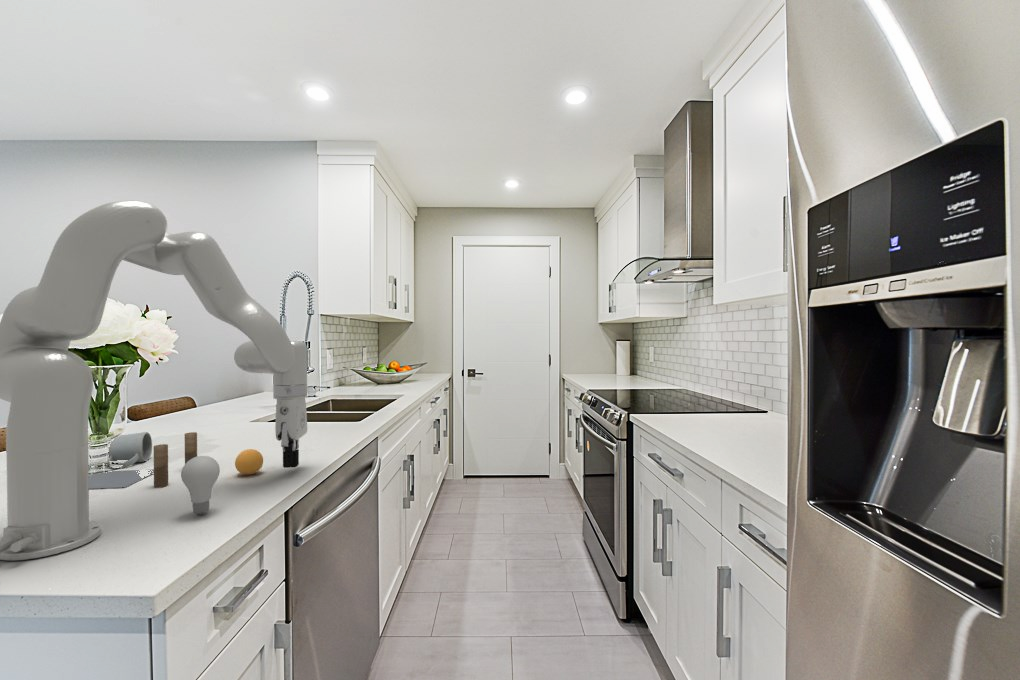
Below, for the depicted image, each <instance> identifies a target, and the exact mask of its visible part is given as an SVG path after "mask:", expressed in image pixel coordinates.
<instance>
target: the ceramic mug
mask: <svg viewBox="0 0 1020 680" xmlns="http://www.w3.org/2000/svg"><path fill="white" fill-rule="evenodd" d="M118 436H119V435H118ZM152 452H153V440H152V436H151V434H150V433H149V432H147V431H143V432H137V433H135V432H134V433H129V434H121V435H120V436H119V437H117V438H115V439H114V440H113V441H112V442H111V444H110V447H109V461H117V460H128V461H126V462H124V463H120V464H116V463H115V464H116V465H123V466H124V467H126V468H128V467H130V466H132V465H134V464H135V463H145V462H144V461H146V462H148V461H149V460H150V459H151V456H152ZM148 459H149V460H148ZM147 460H148V461H147Z"/></svg>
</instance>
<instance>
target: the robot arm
mask: <svg viewBox="0 0 1020 680" xmlns="http://www.w3.org/2000/svg"><path fill="white" fill-rule="evenodd" d="M166 218H167V217H166V216H165V214H164V213H163V212H162V210H161V209H160V208H158V207H156V206H155V205H153V204H151V203H148V202H146V201H140V200H118V201H113V202H108V203H105V204H101V205H99V206H95V207H94V208H92V209H89V210H88V211H86V212H84V213H82V214H80V215H79V216H78V217H76V218H75V219H74V220H72V221H71V222H70V223H69V224H68V225H67V226H66V227H65V228H64V230H63V231H62V232H61V233H60V235H59V237H57V239H56V242H55V244H54V246H53V249H52V250H51V252H50V256H49V258H48V261H47V263H46V264H45V267H44V270H43V274H42V276H41V279H40V281H39V283H38V285H37V286H33V287H29V288H26V289H24V290H22V291H20V292H19V293H18V294H16V295H15V296H14V297H13V298H12V299H11V300H9V303H8V304H7V306H6V307H5V309H4V311H3V314H2V316H1V319H0V400H3V401H6V402H8V403H10V406H9V411H8V417H7V424H6V433H5V435H6V436H5V449H6V450H5V453H6V454H5V455H6V501H7V503H6V505H7V507H6V508H7V526H6V527H4V528H3V529H2V531H3V533H2V534H3V535H2V536H1V537H0V560H1V561H25V560H32V559H38V558H43V557H48V556H53V555H56V554H61V553H65V552H67V551H70V550H74V549H77V548H79V547H82V546H84V545H86V544H88V543H90V542H92V541H95V539H97V538H98V537H99V536H100V535H102V534H101V533H102V525H101V524H100V523H98V522H96V521H90V494H89V493H90V489H89V473H90V471H89V468H90V467H89V435H88V434H89V415H90V413H89V412H90V406H91V405H90V404H91V400H92V393H93V389H94V388H93V387H94V377H93V373H92V369H91V368H90V366H89V364H88V363H87V361H86V360H84V359H83V358H82V357H81V356H79V355H78V354H77V353H74V352H72V351H70V350H69V347H70V344H71V342H72V341H78V340H82V339H86V338H88V337H90V336H92V335H93V334H94V333H95V332H96V331H97V330H98V328H99V327H100V324H101V321H102V319H103V315H104V311H105V308H106V304H107V300H108V296H109V294H110V293H109V292H110V289H111V286H112V282H113V280H114V277H115V274H116V271H117V269H118V267H119V265H120V264H121V263H122V261H125V262H128V263H130V264H134V265H135V266H136V265H137V266H139V267H142V268H146V269H149V270H152V271H155V272H158V273H159V272H160V273H162V274H166V275H170V276H184V278H185V280H186V281H187V282H188V284H189V286H190V287H191V288H192V290H193V292H194V294H195V295H196V297H197V298H198V299H199V301H200V303H201V304H202V306H203V308H204V309H205V310H206V311H207V313H208V314H210V315H212V316H213V317H215V318H216V319H218V320H219V321H222V322H224V323H225V324H228V325H231V326H233V327H234V328H236V329H238V330H239V331H240V332H241V333H243V334H244V335H245V336H246V337H247V338H248V339H249V341H245V342H243V343H241V344H240V345H239V346H237V347H236V349H235V351H234V354H233V359H234V363H235V364H236V366H237V367H238V368H239V369H240V370H242V371H244V372H247V373H251V374H269V375H271V374H272V375H273V376H272V383H273V386H272V391H273V394H272V396H273V399H274V400H276V406H275V428H274V429H275V439H276V440H277V441H279V442H281V443H280V447H282V467H283V468H284V469H285V468H286V469H287V468H289V469H291V468H297V467H298V466H299V464H300V461H299V458H300V455H299V454H300V450H299V447H300V439H301V438H302V437H304V436H305V435H306V434H307V432H308V414H307V412H308V411H307V401H306V398H307V397H308V349H307V348H308V347H307V344H306V342H304V341H302V340H290V338H289V336H288V334H287V333H286V331H285V329H284V327H283V326H282V324H280V322H279V320H277V319H276V317H275V316H274V315H272V313H270V312H269V311H268V310H267V309H266V308H265V307H263V306H262V305H261V304H260V303H259V302H258V301H257V300H256V299H254V298H253V297H252V296H250V295H249V293H248V292H247V291H246V289H245V287H244V286H243V284H242V283H241V281H240V278H238V275H237V274H236V272H235V270H234V269H233V267H232V265H231V264H230V262H229V261H228V259H227V256H226V255H225V254H224V251H223V250H222V249H221V247H220V246H219V244H218V243H217V241H216V240H215V239H214V238H213V236H211V235H210V234H208V233H205V232H201V231H183V232H179V233H170V232H167V231H168V220H167V219H166Z"/></svg>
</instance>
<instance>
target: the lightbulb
mask: <svg viewBox="0 0 1020 680" xmlns="http://www.w3.org/2000/svg"><path fill="white" fill-rule="evenodd" d="M220 468H221V467H220V464H219V463H218V461H217V460H216V459H214V457H211V456H208V455H197V457H194V458H192V459H191V460H189V461H188V462H187V463H186V464H185V463H184V465H183V467H182V469H181V473H180V478H181V482H182V483H183V484H184V486H185V487H186V488H187V490H188V492H189V496H190V502H191V503H192V512H193V513H194V514H196V515H199V516H200V515H201V516H202V515H204V514H205V513H206V512H208V511H209V510H210V499H211V498H212V490H213V487H214V485H215V483H216V482H217V480H218V478H219V476H220V471H221V470H220Z"/></svg>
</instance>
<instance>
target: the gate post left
mask: <svg viewBox="0 0 1020 680" xmlns="http://www.w3.org/2000/svg"><path fill="white" fill-rule="evenodd" d="M153 469H154V474H153V488H155V487H161V488H164V487H163V486H165V487H168V486H169V445H168V444H167V443H166V444H165V443H163V444H156V445H154V446H153ZM167 485H168V486H167Z"/></svg>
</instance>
